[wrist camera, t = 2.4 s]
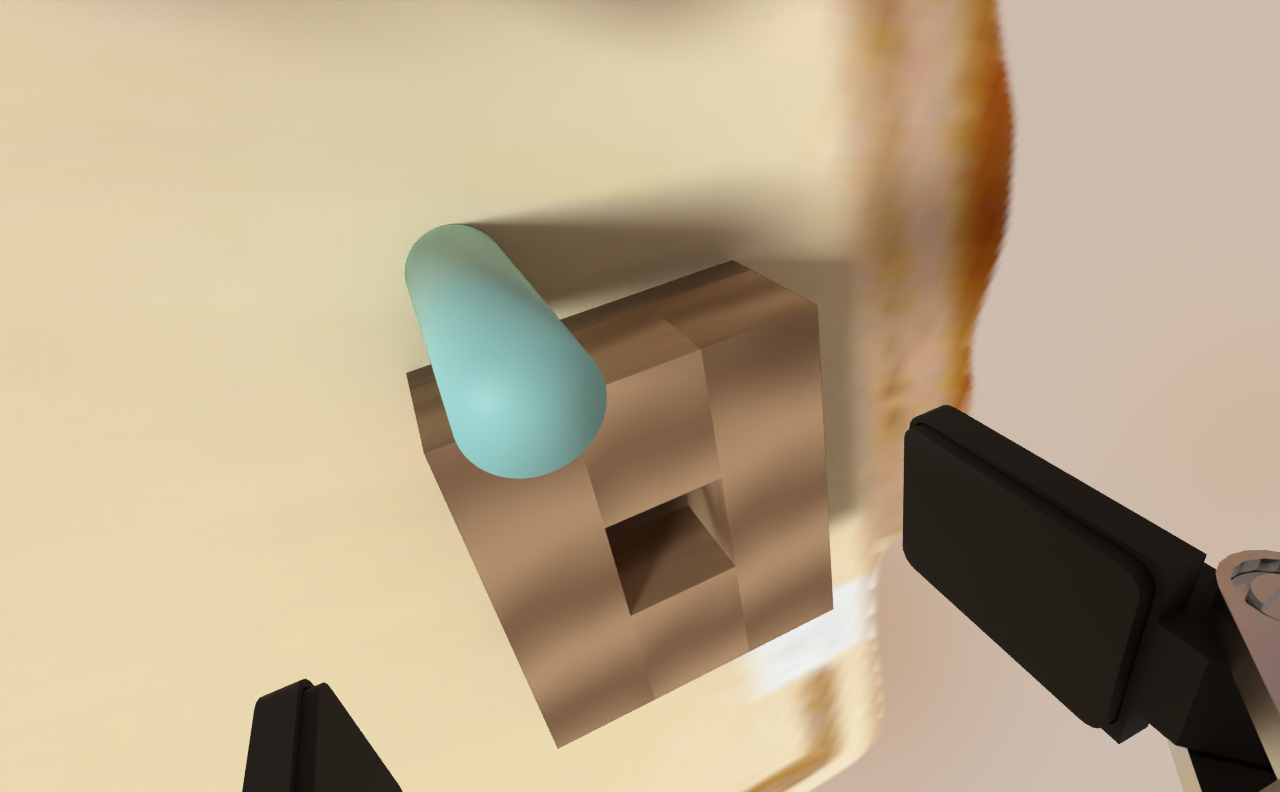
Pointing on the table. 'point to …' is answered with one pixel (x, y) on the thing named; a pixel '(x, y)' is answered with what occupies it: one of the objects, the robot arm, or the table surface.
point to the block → (658, 500)
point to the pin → (501, 357)
